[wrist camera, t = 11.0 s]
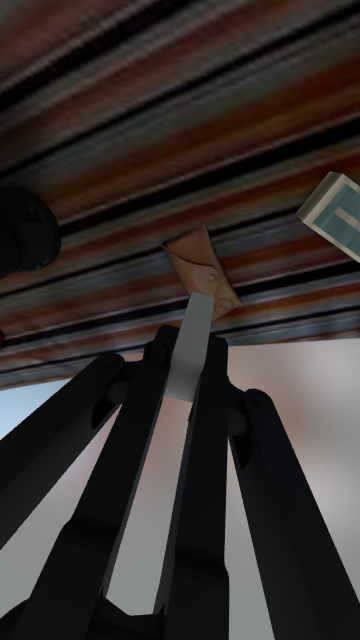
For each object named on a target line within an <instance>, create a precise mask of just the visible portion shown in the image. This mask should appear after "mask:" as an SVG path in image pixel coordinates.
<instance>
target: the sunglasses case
mask: <svg viewBox="0 0 360 640" xmlns="http://www.w3.org/2000/svg"><path fill="white" fill-rule="evenodd" d="M162 248H163V249H164V251H165V253H166V255H167V257H168V259H169V261H170V263H171V265H172V266H173V268H174V270H175V272H176V274H177V276H178V277H179V279H180V281H181V282H182V284H183V286H184V288H185V290H186V291H187V293H188V295H189V297H191V294H192V292H194V293H198V294H202V295H207V296H211V297H215V298H214V305H213V311H212V318H211V323H212V322H214V321H216V320H217V319H219V318H220V317H222V316H223V315H225V314H226V313H228V312H230V311H231V310H233V309H234V308H236V307H238V306H239V305H242V301H241V300H240V298H239V297H238V295H237V294H236V292H235V290H234V289H233V287H232V285H231V283H230V281H229V279H228V277H227V275H226V273H225V271H224V269H223V267H222V264H221V262H220V260H219V258H218V256H217V254H216V252H215V249H214V247H213V245H212V242H211V239H210V237H209V234H208V231H207V228H206V225H205V224H199V225H198V226H197V227H195V228H193V229H191V230H189V231H187V232H185V233H183V234H181V235H179V236H177V237H175V238H173V239H171V240H169V241H168V242H166V241H165V242H163V243H162Z"/></svg>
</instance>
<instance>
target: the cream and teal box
mask: <svg viewBox="0 0 360 640" xmlns="http://www.w3.org/2000/svg"><path fill="white" fill-rule="evenodd" d="M295 215H296V216H297V217H298V218H299V219H300V220H301V221H302V222H303V223H305V224H306V225H308V226H309V227H310V228H312V229H313V230H315V231H316V232H317V233H319V234H320V235H322V236H323V237H324V238H326V239H327V240H329V241H330V242H331V243H333V244H334V245H335V246H337V247H338V248H340V249H341V250H342V251H344V252H345V253H347V254H348V255H349V256H351V257H352V258H354V259H355V260H356V261H358V262H359V263H360V187H359V186H358V185H357V184H355V183H354V182H353V181H352V180H350V179H349V178H348V177H346V176H345V175H344V174H341V173H336V172H329V173H328V174H327V175H326V177H325V178H324V179H323V180H322V182H321V183H320V184H319V185H318V187H317V188H316V189H315V190H314V192H313V193H312V194H311V195H310V196H309V198H308V199H307V200H306V201H305V203H304V204H303V205H302V206H301V208H300V209H299V210H298V211H297V213H296V214H295Z"/></svg>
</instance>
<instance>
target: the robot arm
mask: <svg viewBox="0 0 360 640" xmlns="http://www.w3.org/2000/svg"><path fill="white" fill-rule="evenodd" d="M60 246H61V235H60V230H59V227H58V224H57V221H56V219H55V217H54V215H53V214H52V212H51V211H50V209H49V208H48V207H47V205H46V204H45V203H44V202H43V201H42V200H41V199H40V198H38V197H37V196H36V195H34V194H33V193H31V192H29V191H27V190H25V189H23V188H19V187H14V186H7V187H0V280H1V279H3V278H4V277H6V276H8V275H10V274H12V273H14V272H27V271H36V270H39V269H42V268H44V267H46V266H47V265H49V264H51V263H52V262H53V261H54V260H55V259H56V257H57V256H58V253H59V251H60ZM214 298H215V297H211V296H207V295H202V294H198V293H194V292H192V294H191V297H190V300H189V303H188V306H187V310H186V313H185V316H184V319H183V322H182V325H181V328H178V327H174V326H171V325H167V324H164V325H163V326H161V327H160V328H159V329H158V332H157V334H156V336H155V339H154V340H152V341H150V342H147V343H146V345H145V347H144V354H143V359H142V360H140V361H133V362H128V361H125V360H124V358H123V357H122V356H121V355H119V354H116V353H104V354H101V355H100V356H98V357H97V358H96V359H95V360H93V361H92V362H91V363H90V364H89V365H88V366H86V367H85V368H84V369H83V370H82V371H81V372H79V373H78V374H77V375H76V376H75V377H74V378H72V379H71V380H70V381H69V382H68V383H67V384H66V385H64V386H63V387H62V388H61V389H60V390H58V391H57V392H56V393H55V394H54V395H53V396H51V397H50V398H49V399H48V400H47V401H46V402H45V403H43V404H42V405H41V406H40V407H39V408H37V409H36V410H35V411H34V412H33V413H32V414H30V415H29V416H28V417H27V418H26V419H25V420H23V421H22V422H21V423H20V424H19V425H18V426H17V427H15V428H14V429H13V430H12V431H11V432H9V433H8V434H7V435H6V436H5V437H3V438H2V439H1V440H0V550H1V549H2V548H3V546H4V545H5V544H6V543H7V541H8V540H9V539H10V538H11V537H12V536H13V534H14V533H15V532H16V531H17V530H18V528H19V527H20V526H21V525H22V524H23V522H24V521H25V520H26V519H27V518H28V516H29V515H30V514H31V513H32V511H33V510H34V509H35V508H36V507H37V505H38V504H39V503H40V502H41V501H42V499H43V498H44V497H45V496H46V494H47V493H48V492H49V491H50V490H51V488H52V487H53V486H54V485H55V484H56V483H57V481H58V480H59V479H60V478H61V476H62V475H63V474H64V473H65V472H66V470H67V469H68V468H69V467H70V466H71V464H72V463H73V462H74V461H75V460H76V458H77V457H78V456H79V455H80V454H81V452H82V451H83V450H84V449H85V447H86V446H87V445H88V444H89V443H90V441H91V440H92V439H93V437H95V435H96V434H97V433H98V432H99V431H100V429H101V428H102V427H103V426H104V425H105V423H106V422H107V421H108V419H110V417H111V416H112V415H113V414H114V413H115V411H116V410H117V409H118V408H119V406H120V404H122V406H121V409H120V411H119V413H118V416H117V418H116V420H115V422H114V424H113V427H112V429H111V431H110V433H109V435H108V438H107V440H106V442H105V444H104V447H103V449H102V451H101V453H100V456H99V458H98V460H97V462H96V464H95V467H94V469H93V471H92V473H91V476H90V478H89V480H88V482H87V485H86V487H85V489H84V491H83V494H82V496H81V498H80V500H79V502H78V504H77V507H76V509H75V511H74V513H73V515H72V517H71V519H70V520H69V521H68V522H67V523H66V524H65V525H64V527H63V528H62V530H61V531H60V533H59V535H58V537H57V539H56V541H55V543H54V546H53V548H52V550H51V552H50V554H49V556H48V559H47V561H46V563H45V565H44V567H43V569H42V572H41V574H40V576H39V578H38V580H37V582H36V585H35V587H34V589H33V591H32V593H31V595H30V597H29V598H28V599H27V600H25V601H23V602H21V603H20V604H19V605H17V606H15V607H14V608H13V609H11V610H10V611H9V612H7V613H6V614H5V615H4V616H3V617H1V619H0V640H229V576H228V572H227V569H226V567H225V563H224V549H225V547H224V546H225V515H226V483H227V482H226V481H227V450H228V447H227V446H228V439H229V443H230V447H231V452H232V456H233V460H234V464H235V469H236V473H237V478H238V482H239V486H240V490H241V495H242V499H243V504H244V508H245V512H246V517H247V521H248V525H249V530H250V534H251V538H252V543H253V547H254V551H255V556H256V560H257V564H258V568H259V573H260V577H261V582H262V586H263V590H264V594H265V599H266V603H267V608H268V612H269V616H270V621H271V625H272V630H273V634H274V638H275V640H360V603H359V600H358V598H357V596H356V594H355V591H354V589H353V586H352V584H351V582H350V580H349V577H348V575H347V573H346V570H345V568H344V566H343V563H342V561H341V559H340V556H339V554H338V552H337V549H336V547H335V545H334V542H333V540H332V538H331V535H330V533H329V531H328V529H327V526H326V524H325V522H324V519H323V517H322V515H321V512H320V510H319V508H318V505H317V503H316V501H315V499H314V496H313V494H312V491H311V489H310V487H309V484H308V482H307V480H306V477H305V475H304V473H303V471H302V468H301V466H300V464H299V461H298V459H297V457H296V454H295V452H294V450H293V448H292V445H291V443H290V440H289V438H288V436H287V433H286V431H285V429H284V426H283V424H282V422H281V420H280V417H279V415H278V413H277V410H276V408H275V406H274V403H273V401H272V399H271V398H270V397H269V396H268V395H267V394H266V393H265V392H263V391H261V390H258V389H248V390H247V391H246V392H244V391H242V390H240V389H238V388H236V387H235V386H234V385H233V384H231V382H230V381H229V377H228V376H227V362H228V344H227V342H226V340H225V338H221V337H217V336H213V335H209V332H210V325H211V318H212V311H213V305H214ZM164 395H166V396H170V397H173V398H177V399H181V400H184V401H188V402H193V405H192V408H191V411H190V414H189V418H188V421H189V422H188V428H187V434H186V439H185V445H184V451H183V456H182V461H181V467H180V473H179V478H178V484H177V489H176V495H175V501H174V506H173V512H172V517H171V524H170V528H169V535H168V540H167V545H166V551H165V557H164V562H163V568H162V573H161V578H160V584H159V588H158V592H157V596H156V600H155V605H154V610H153V614H148V615H135V616H130V615H127V614H126V613H124V612H123V611H122V610H120V609H119V608H118V607H117V606H115V605H114V604H112V603H111V602H110V601H109V600H108V599H106V595H107V592H108V588H109V584H110V581H111V576H112V573H113V569H114V565H115V562H116V558H117V555H118V551H119V548H120V544H121V541H122V537H123V534H124V531H125V528H126V524H127V521H128V517H129V514H130V511H131V507H132V503H133V500H134V497H135V493H136V490H137V486H138V483H139V480H140V476H141V473H142V469H143V466H144V463H145V459H146V456H147V452H148V449H149V446H150V442H151V439H152V435H153V432H154V428H155V425H156V421H157V418H158V415H159V411H160V408H161V404H162V400H163V396H164Z"/></svg>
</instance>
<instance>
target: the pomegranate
mask: <svg viewBox="0 0 360 640" xmlns="http://www.w3.org/2000/svg"><path fill="white" fill-rule="evenodd" d="M2 340H3V337H2V335H1V333H0V350H1V346H2Z"/></svg>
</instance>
